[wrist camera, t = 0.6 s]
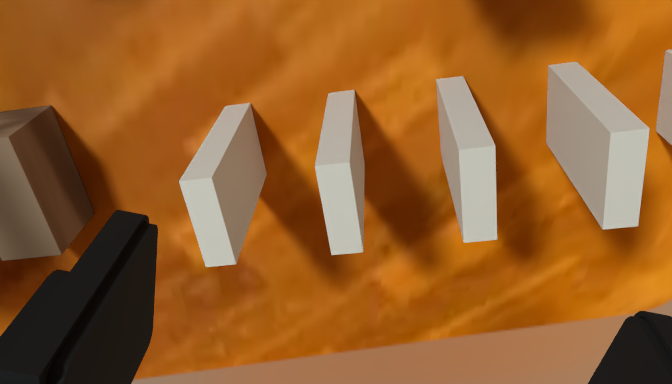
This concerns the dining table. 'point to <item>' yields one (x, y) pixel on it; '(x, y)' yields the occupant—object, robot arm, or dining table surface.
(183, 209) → the dining table surface
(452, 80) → the tile
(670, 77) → the tile
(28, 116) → the end block
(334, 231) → the tile
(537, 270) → the dining table surface
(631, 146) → the tile
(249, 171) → the tile
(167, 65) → the dining table surface
